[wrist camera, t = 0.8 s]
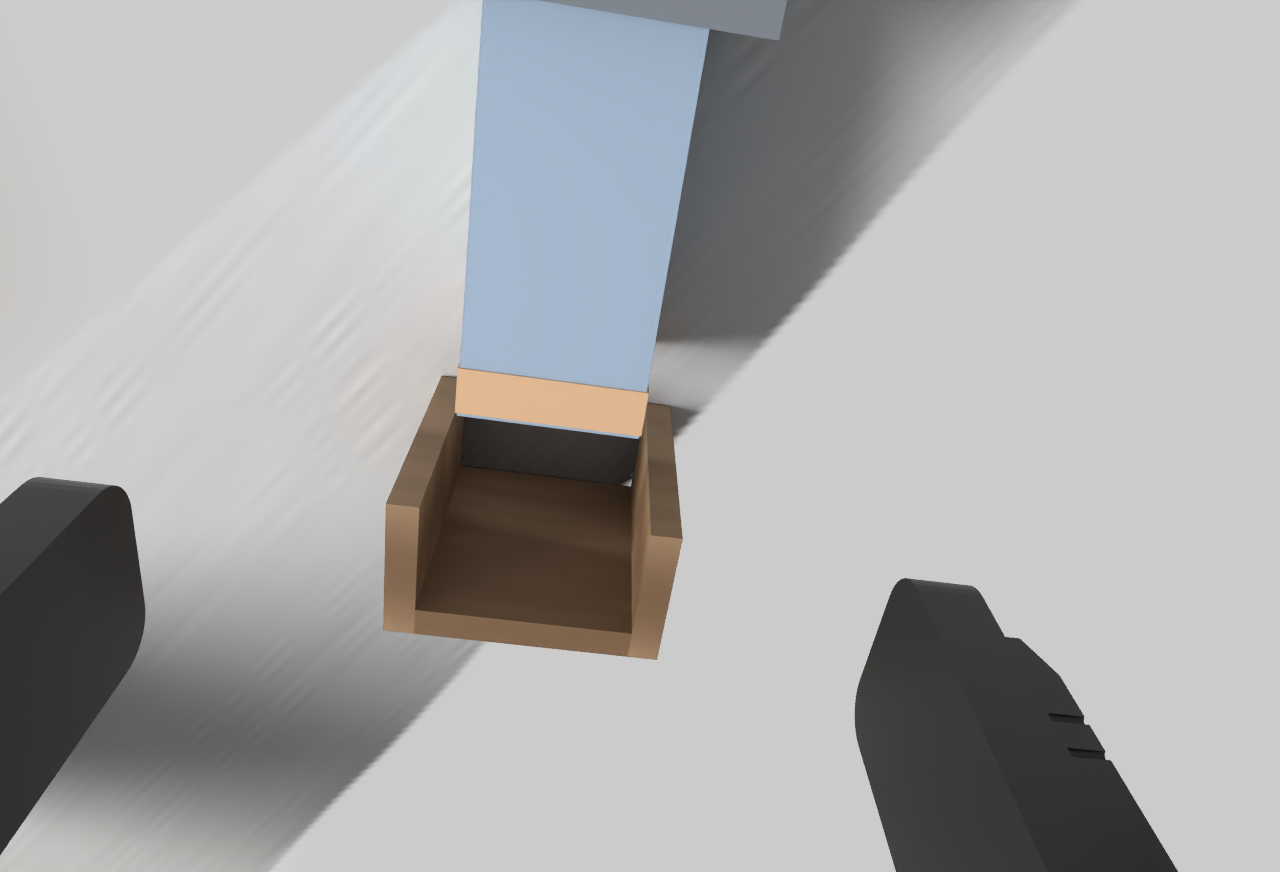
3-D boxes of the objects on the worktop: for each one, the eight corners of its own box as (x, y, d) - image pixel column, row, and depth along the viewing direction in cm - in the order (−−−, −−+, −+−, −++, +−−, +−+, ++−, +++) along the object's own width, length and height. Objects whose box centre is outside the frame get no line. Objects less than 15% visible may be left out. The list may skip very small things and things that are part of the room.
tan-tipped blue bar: (638, 344, 28) (640, 440, 22) (488, 324, 27) (454, 416, 22) (745, -310, 20) (787, -405, 15) (540, -351, 20) (507, -464, 14)
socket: (650, 509, 31) (656, 659, 24) (436, 482, 30) (383, 630, 24) (670, 406, 29) (682, 539, 22) (441, 375, 28) (386, 503, 22)
